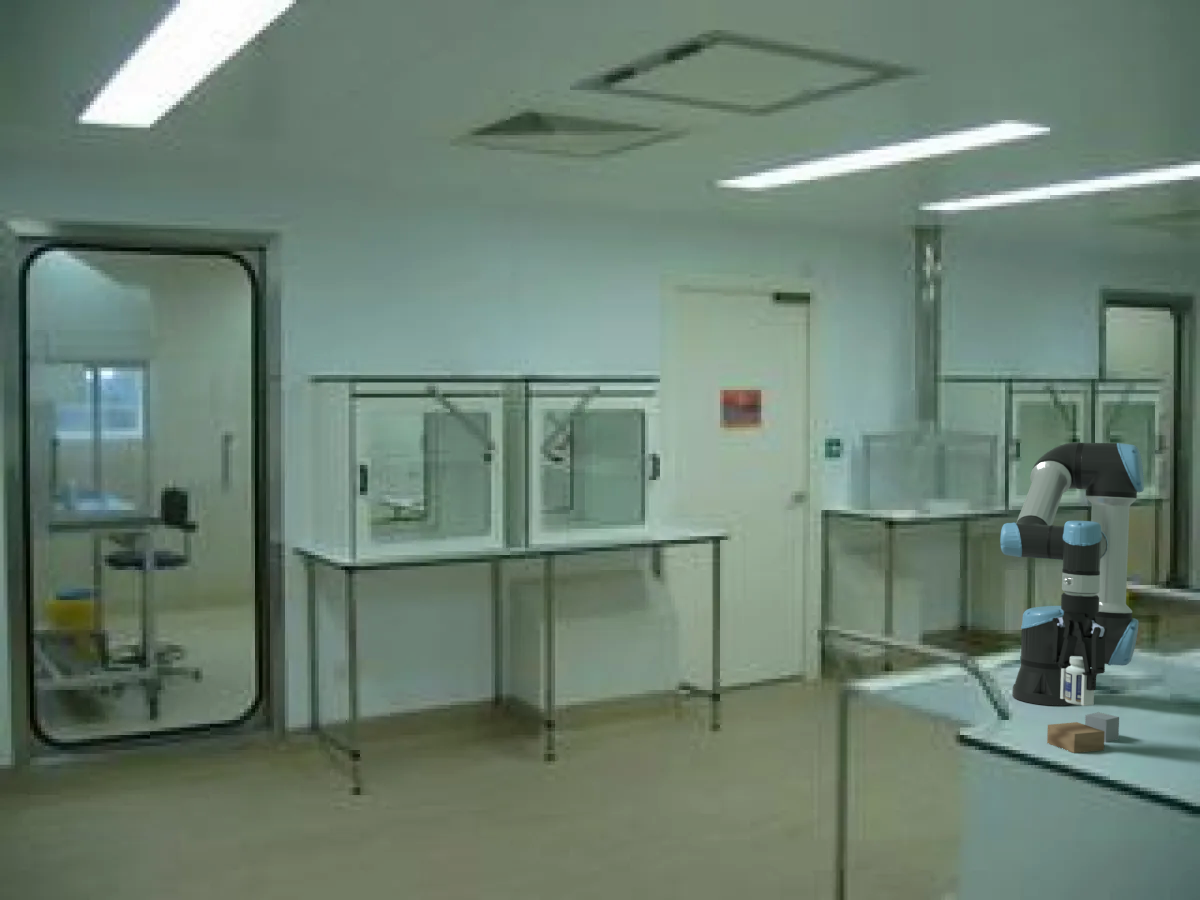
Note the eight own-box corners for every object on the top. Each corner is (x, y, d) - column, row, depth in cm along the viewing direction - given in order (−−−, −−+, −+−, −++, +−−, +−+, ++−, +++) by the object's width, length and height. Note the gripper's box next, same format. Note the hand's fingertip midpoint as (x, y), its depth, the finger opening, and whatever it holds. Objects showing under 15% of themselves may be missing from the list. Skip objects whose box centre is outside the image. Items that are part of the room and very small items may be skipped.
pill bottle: (1095, 702, 257) (1097, 657, 257) (1086, 706, 253) (1088, 660, 253) (1070, 698, 261) (1071, 654, 261) (1061, 702, 257) (1062, 657, 257)
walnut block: (1047, 743, 260) (1047, 724, 260) (1076, 740, 263) (1077, 722, 262) (1074, 753, 252) (1074, 734, 252) (1103, 750, 255) (1104, 731, 255)
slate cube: (1084, 737, 266) (1085, 715, 265) (1097, 734, 269) (1098, 712, 268) (1105, 742, 262) (1106, 719, 261) (1118, 739, 264) (1119, 716, 264)
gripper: (1036, 588, 264) (1032, 693, 264) (1098, 600, 247) (1094, 712, 247) (1063, 587, 266) (1059, 691, 267) (1127, 599, 249) (1123, 710, 250)
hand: (1076, 701), depth 257 cm, fingers closed on pill bottle, 5 cm apart
